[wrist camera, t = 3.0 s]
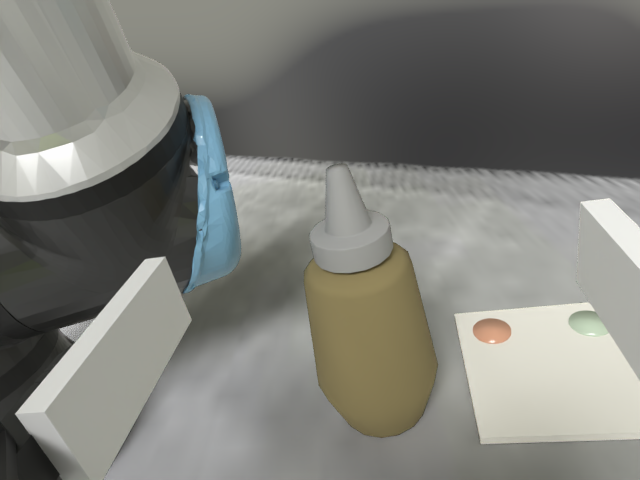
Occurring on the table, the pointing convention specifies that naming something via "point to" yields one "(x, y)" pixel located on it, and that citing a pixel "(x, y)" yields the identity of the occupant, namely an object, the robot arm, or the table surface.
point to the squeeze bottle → (366, 316)
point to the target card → (547, 376)
